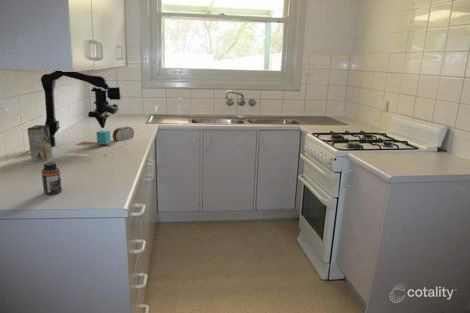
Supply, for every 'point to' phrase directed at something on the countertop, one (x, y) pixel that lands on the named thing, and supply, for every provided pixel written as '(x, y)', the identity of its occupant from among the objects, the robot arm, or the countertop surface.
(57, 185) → the supplement bottle
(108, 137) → the teal block
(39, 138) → the coffee box
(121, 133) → the tin
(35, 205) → the countertop surface
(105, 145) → the walnut board
